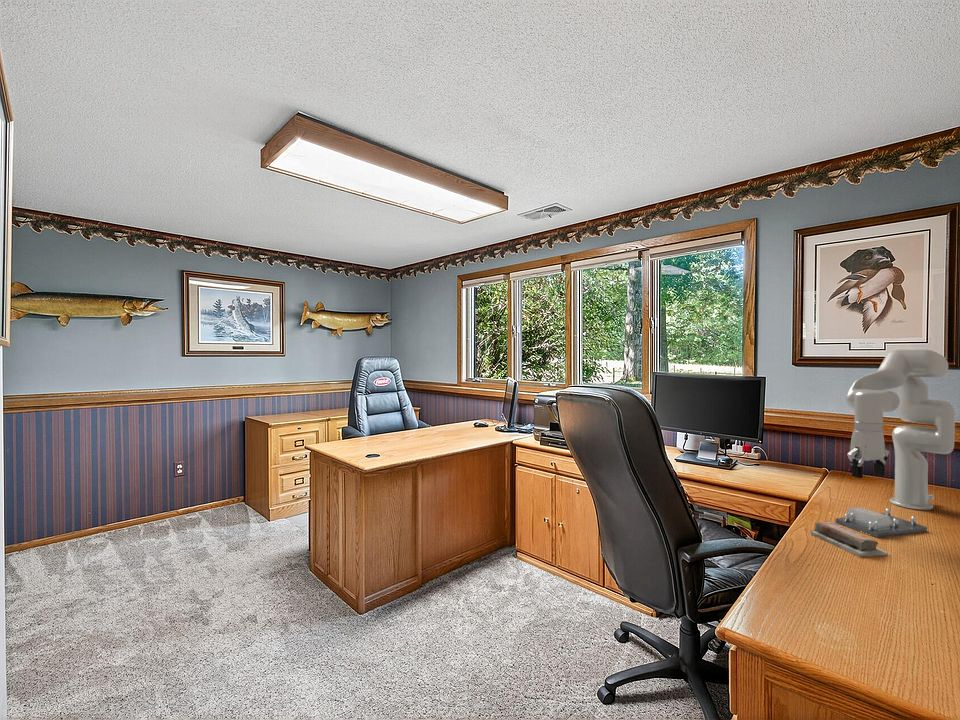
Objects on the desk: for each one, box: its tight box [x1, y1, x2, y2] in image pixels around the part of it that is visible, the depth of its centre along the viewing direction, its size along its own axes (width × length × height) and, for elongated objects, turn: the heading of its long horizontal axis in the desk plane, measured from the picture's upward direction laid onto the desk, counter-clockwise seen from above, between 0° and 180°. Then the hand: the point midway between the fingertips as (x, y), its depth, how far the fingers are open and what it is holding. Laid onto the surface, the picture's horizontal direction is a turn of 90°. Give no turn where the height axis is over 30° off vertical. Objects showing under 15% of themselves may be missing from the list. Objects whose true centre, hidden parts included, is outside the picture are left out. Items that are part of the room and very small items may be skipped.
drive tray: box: [834, 508, 928, 539], centre depth 159 cm, size 22×14×4 cm, turn 103°
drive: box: [846, 506, 890, 530], centre depth 158 cm, size 6×10×4 cm, turn 14°
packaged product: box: [810, 520, 889, 558], centre depth 146 cm, size 18×5×10 cm
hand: (868, 476), depth 158 cm, fingers open, 9 cm apart
